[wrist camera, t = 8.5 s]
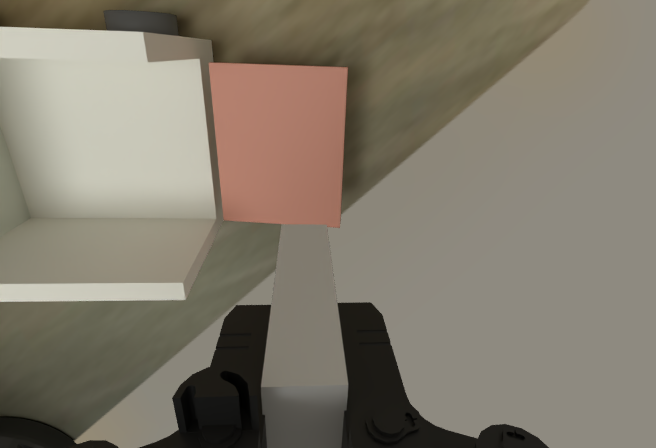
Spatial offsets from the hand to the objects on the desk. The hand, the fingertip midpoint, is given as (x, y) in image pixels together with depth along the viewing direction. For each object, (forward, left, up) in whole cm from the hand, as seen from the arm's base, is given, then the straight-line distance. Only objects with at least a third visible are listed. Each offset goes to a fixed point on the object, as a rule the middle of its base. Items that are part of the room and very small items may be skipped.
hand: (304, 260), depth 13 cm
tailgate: (0, +6, -16) cm, 17 cm away
